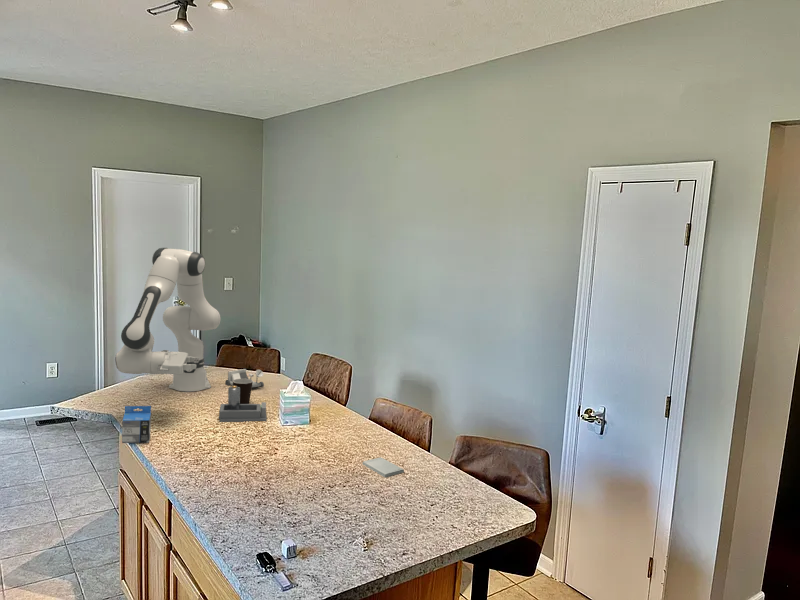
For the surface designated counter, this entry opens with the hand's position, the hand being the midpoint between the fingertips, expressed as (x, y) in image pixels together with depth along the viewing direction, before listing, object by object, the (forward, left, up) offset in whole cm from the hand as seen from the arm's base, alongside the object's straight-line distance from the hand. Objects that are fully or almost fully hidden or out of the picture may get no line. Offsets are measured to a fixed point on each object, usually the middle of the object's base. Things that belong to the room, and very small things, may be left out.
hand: (197, 363), depth 229 cm
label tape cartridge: (+26, -17, -23) cm, 39 cm away
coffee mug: (-21, +18, -22) cm, 35 cm away
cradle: (0, +19, -22) cm, 29 cm away
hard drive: (+56, +66, -23) cm, 89 cm away
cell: (0, +15, -21) cm, 26 cm away
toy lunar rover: (-47, +19, -23) cm, 55 cm away
